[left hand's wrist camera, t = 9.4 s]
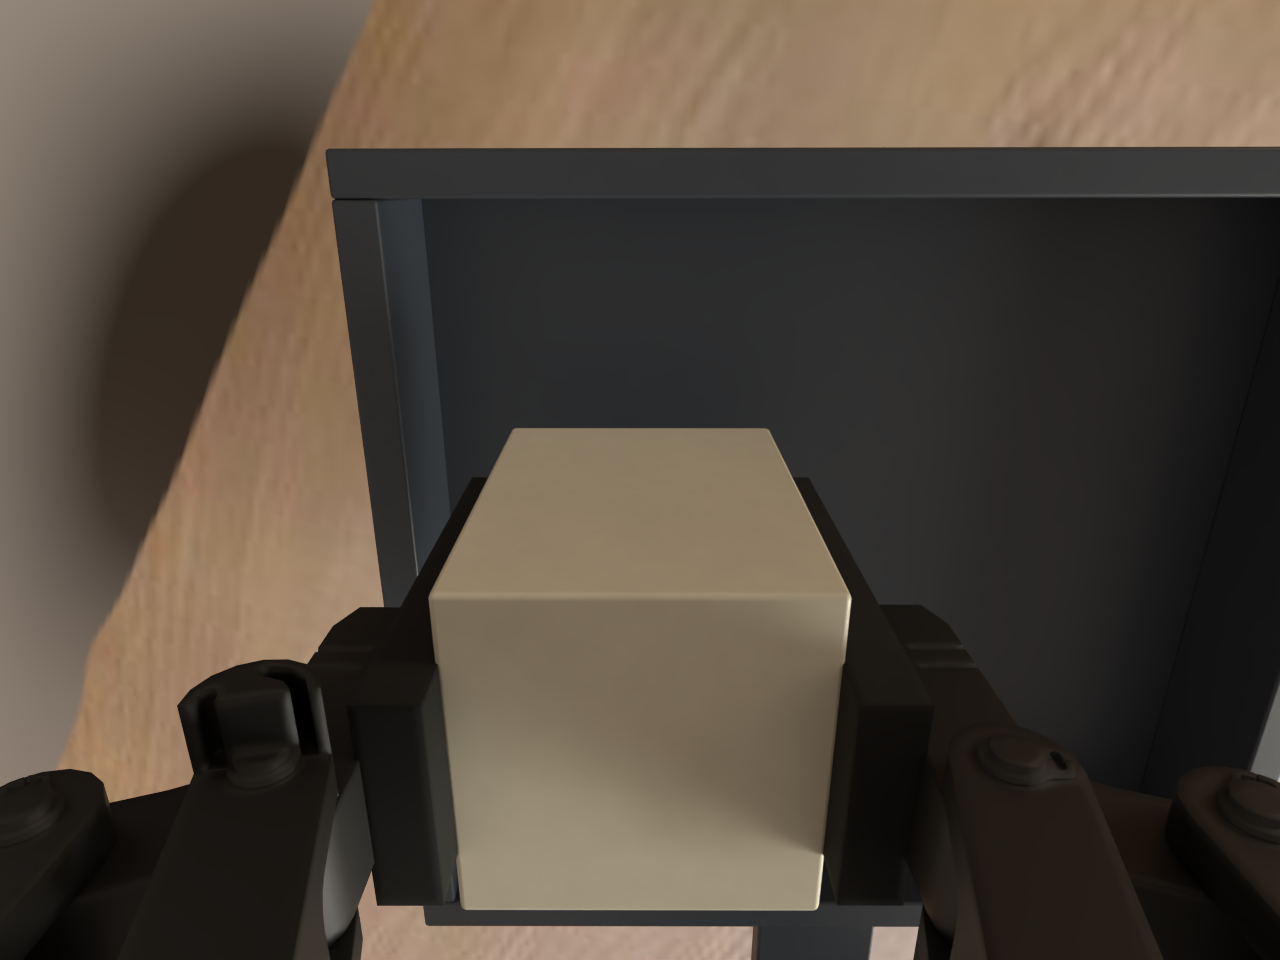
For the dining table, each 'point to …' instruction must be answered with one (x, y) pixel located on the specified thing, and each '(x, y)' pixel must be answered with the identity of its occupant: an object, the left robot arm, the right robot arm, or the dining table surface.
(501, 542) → the cream block
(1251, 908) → the left robot arm
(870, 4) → the dining table surface
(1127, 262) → the tray
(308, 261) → the dining table surface
